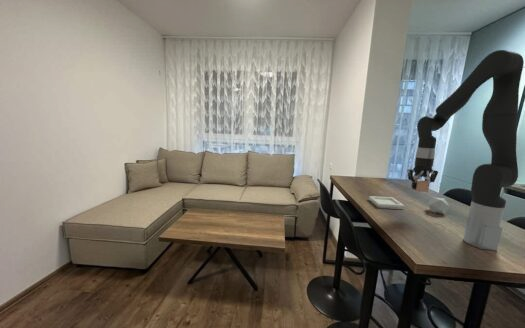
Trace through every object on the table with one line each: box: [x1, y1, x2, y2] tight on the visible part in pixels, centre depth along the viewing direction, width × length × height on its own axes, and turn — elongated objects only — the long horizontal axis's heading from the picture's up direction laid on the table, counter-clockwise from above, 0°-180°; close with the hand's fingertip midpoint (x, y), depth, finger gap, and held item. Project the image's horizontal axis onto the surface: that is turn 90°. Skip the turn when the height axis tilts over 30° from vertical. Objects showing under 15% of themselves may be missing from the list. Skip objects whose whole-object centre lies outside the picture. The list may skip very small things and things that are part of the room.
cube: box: [412, 179, 430, 193], centre depth 113 cm, size 5×5×5 cm
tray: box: [368, 195, 405, 210], centre depth 132 cm, size 14×14×2 cm
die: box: [426, 196, 450, 215], centre depth 121 cm, size 8×9×10 cm
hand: (419, 189), depth 113 cm, fingers closed on cube, 5 cm apart
